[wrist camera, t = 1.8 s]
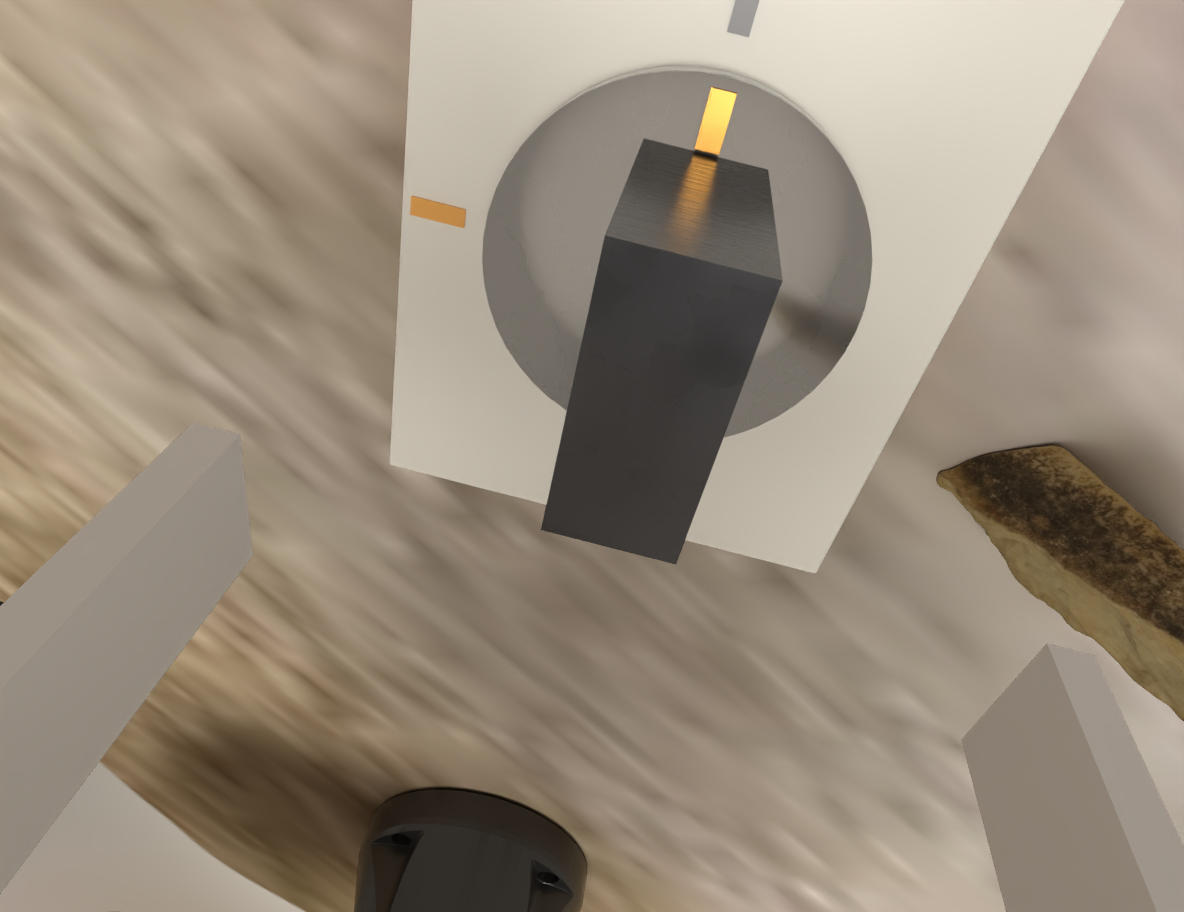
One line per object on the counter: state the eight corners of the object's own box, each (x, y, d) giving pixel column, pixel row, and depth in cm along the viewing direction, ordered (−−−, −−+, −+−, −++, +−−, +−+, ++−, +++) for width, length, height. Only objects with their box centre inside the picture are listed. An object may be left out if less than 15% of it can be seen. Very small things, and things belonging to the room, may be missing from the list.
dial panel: (812, 548, 32) (815, 575, 31) (402, 444, 32) (388, 466, 31) (1132, -67, 19) (1161, -65, 18) (444, -240, 19) (423, -250, 18)
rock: (1309, 636, 28) (1353, 448, 22) (1239, 838, 25) (1269, 681, 19) (1002, 550, 36) (976, 394, 30) (919, 696, 33) (871, 553, 27)
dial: (787, 461, 28) (805, 653, 21) (472, 381, 28) (381, 544, 21) (939, 123, 21) (1046, 235, 14) (517, 17, 21) (402, 72, 14)
